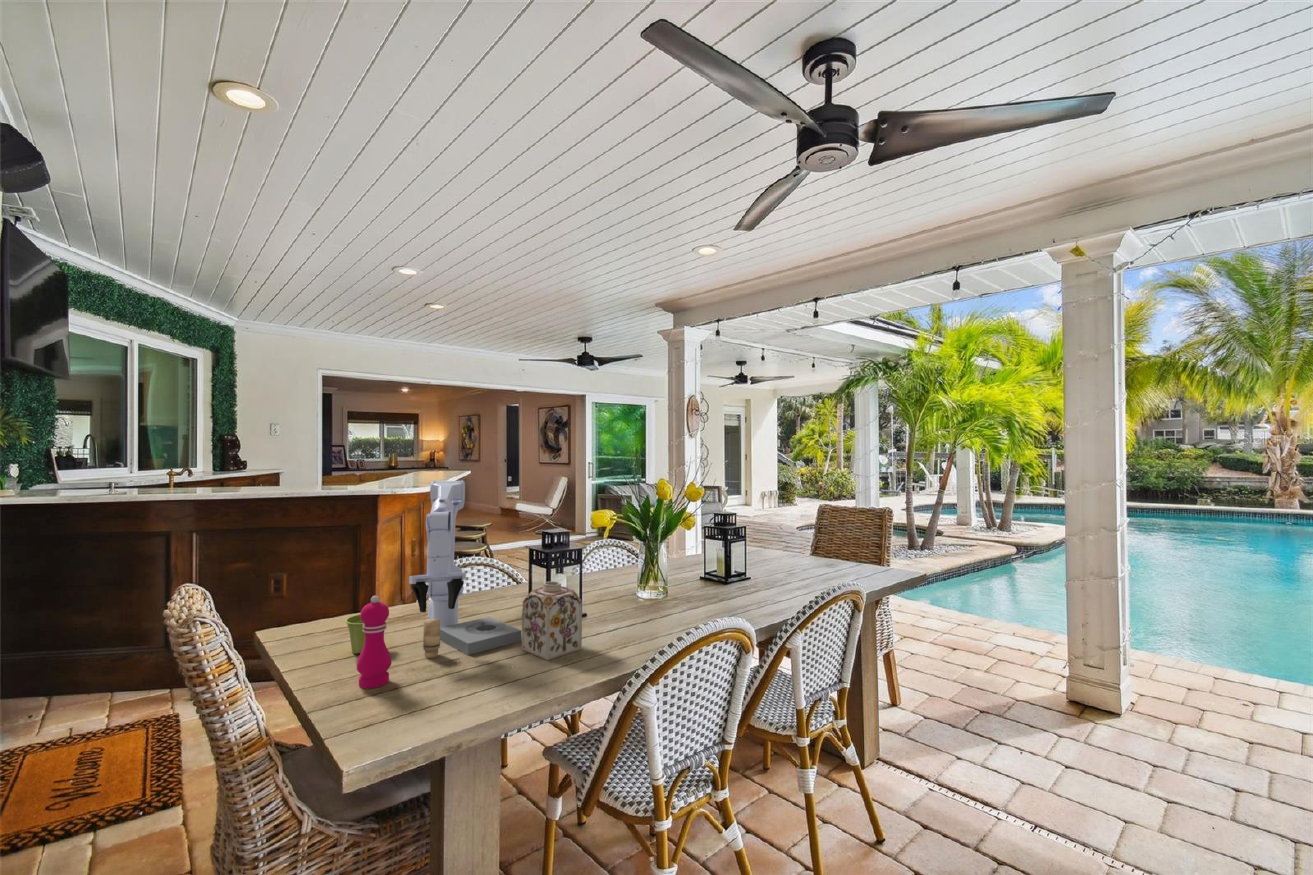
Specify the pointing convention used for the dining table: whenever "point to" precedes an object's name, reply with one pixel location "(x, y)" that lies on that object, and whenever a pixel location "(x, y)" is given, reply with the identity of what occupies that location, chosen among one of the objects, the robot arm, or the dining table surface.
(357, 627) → the plant pot
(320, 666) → the dining table surface
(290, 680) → the dining table surface
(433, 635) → the oak peg
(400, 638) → the dining table surface
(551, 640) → the decorative jar
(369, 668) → the pepper mill
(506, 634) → the grey peg hole board
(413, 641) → the dining table surface
